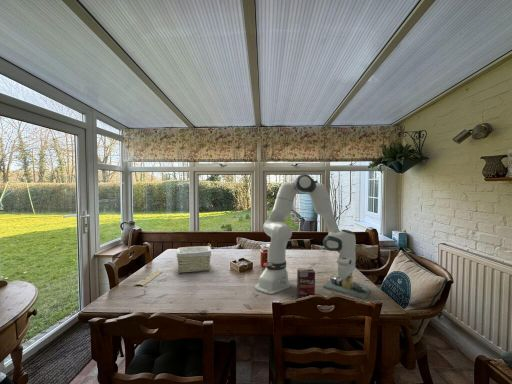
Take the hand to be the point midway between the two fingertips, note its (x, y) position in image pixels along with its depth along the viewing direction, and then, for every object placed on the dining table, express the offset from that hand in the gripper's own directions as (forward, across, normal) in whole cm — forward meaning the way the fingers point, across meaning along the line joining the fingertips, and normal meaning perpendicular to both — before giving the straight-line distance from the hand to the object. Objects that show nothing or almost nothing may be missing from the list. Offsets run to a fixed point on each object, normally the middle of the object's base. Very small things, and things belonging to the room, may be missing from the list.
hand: (347, 281), depth 137 cm
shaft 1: (+5, -2, -7) cm, 9 cm away
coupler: (+4, 0, 0) cm, 4 cm away
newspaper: (+6, +65, -107) cm, 125 cm away
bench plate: (+5, 0, 0) cm, 5 cm away
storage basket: (+5, +36, -98) cm, 105 cm away
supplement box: (+5, +28, -13) cm, 31 cm away
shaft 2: (+5, 0, +7) cm, 9 cm away
